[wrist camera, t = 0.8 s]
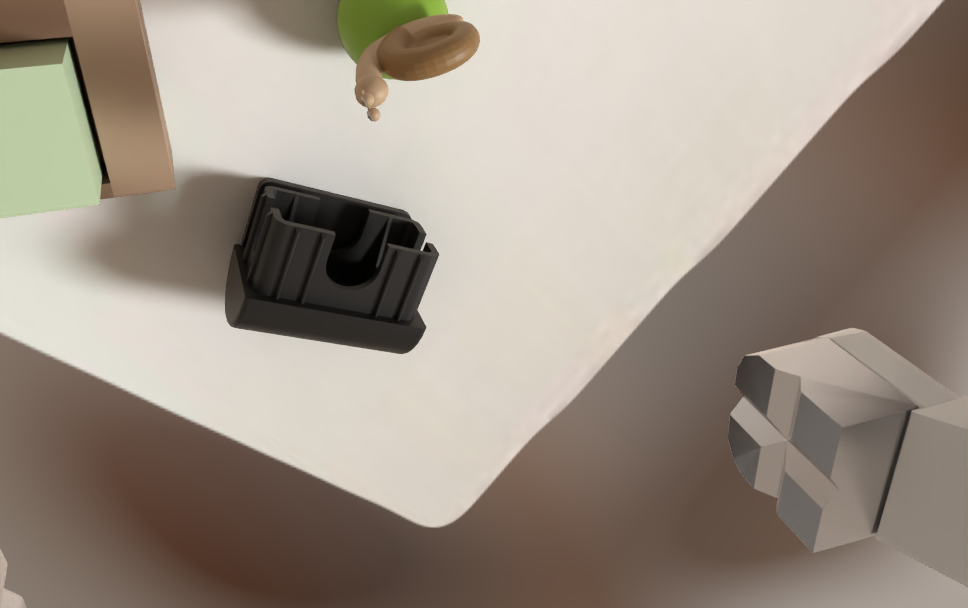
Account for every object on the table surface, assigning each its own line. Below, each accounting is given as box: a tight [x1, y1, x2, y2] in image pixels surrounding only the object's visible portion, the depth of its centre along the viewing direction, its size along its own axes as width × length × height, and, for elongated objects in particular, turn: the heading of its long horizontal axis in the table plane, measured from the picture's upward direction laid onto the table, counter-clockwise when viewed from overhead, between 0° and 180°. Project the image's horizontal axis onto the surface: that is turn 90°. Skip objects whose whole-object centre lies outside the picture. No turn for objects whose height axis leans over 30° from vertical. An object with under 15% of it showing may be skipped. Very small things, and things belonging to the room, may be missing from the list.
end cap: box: [225, 178, 439, 354], centre depth 47 cm, size 10×7×7 cm
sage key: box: [0, 39, 103, 218], centre depth 36 cm, size 6×6×4 cm
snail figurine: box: [337, 0, 480, 121], centre depth 39 cm, size 5×6×12 cm
